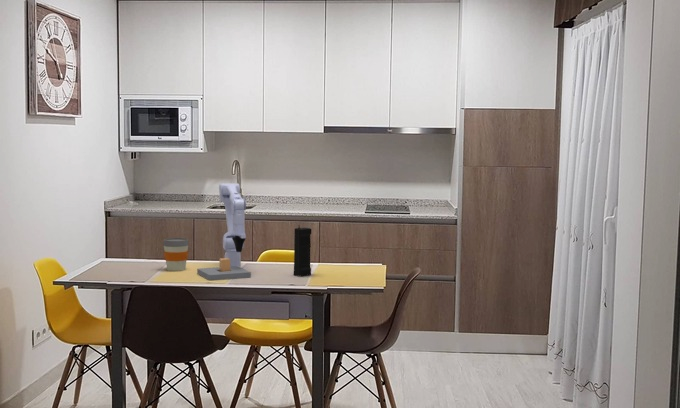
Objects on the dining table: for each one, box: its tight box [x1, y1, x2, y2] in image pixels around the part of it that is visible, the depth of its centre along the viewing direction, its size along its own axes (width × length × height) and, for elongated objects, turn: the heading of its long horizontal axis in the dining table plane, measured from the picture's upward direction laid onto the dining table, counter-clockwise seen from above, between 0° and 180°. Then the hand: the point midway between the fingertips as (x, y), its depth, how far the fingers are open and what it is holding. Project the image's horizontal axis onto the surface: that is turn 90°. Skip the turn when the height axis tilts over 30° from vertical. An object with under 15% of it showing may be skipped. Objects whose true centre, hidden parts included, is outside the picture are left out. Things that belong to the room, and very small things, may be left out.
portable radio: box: [293, 226, 312, 277], centre depth 382 cm, size 8×6×25 cm
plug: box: [218, 257, 230, 272], centre depth 380 cm, size 4×4×8 cm
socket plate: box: [196, 266, 252, 282], centre depth 380 cm, size 20×20×2 cm
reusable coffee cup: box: [162, 237, 190, 272], centre depth 396 cm, size 13×13×15 cm
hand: (238, 251), depth 386 cm, fingers closed
